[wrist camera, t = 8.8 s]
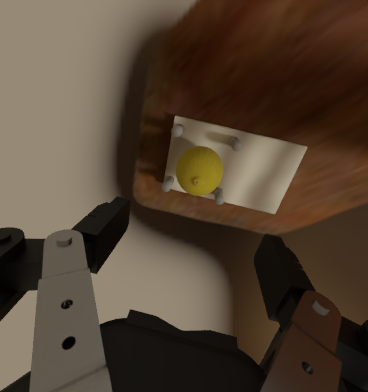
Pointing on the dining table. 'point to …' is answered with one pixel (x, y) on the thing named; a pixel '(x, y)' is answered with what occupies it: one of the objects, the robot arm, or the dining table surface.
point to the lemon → (199, 170)
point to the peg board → (238, 163)
